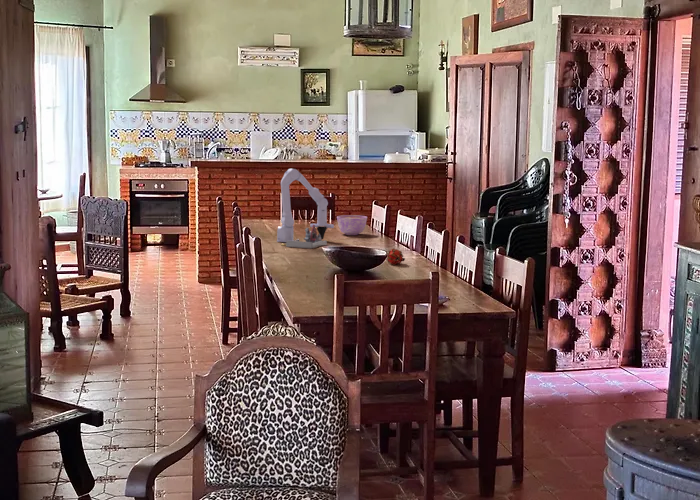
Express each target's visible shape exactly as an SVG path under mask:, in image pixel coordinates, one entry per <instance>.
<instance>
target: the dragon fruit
mask: <svg viewBox="0 0 700 500" xmlns="http://www.w3.org/2000/svg"><path fill="white" fill-rule="evenodd" d="M405 259H406V258H405V257H404V255H403V252H402V251H401V250H399V249H397V248H391V249H390V250H389V251H387V263H388V264H389V263H390V264H391V265H393V266H395V265H400V264H402V262H405Z"/></svg>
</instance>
